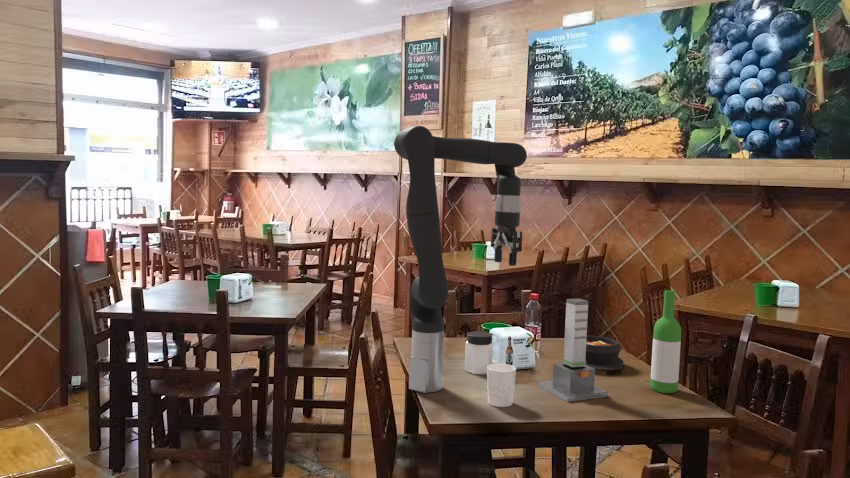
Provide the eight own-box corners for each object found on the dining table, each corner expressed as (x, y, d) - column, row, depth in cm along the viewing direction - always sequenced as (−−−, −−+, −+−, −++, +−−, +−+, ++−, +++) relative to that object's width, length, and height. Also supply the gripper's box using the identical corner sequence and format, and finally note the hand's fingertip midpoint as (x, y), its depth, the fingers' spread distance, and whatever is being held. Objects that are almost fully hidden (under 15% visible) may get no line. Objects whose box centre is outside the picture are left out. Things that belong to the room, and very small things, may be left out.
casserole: (635, 376, 203) (636, 350, 202) (578, 375, 202) (579, 349, 201) (608, 355, 228) (610, 332, 227) (557, 354, 227) (558, 331, 226)
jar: (486, 376, 198) (487, 338, 197) (461, 372, 201) (462, 335, 200) (494, 369, 206) (496, 332, 205) (470, 365, 209) (472, 329, 208)
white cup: (495, 396, 179) (497, 361, 178) (520, 403, 174) (521, 367, 173) (480, 403, 173) (481, 367, 172) (504, 410, 168) (506, 373, 167)
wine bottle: (679, 389, 190) (685, 290, 188) (675, 396, 184) (681, 293, 181) (652, 384, 194) (658, 287, 192) (647, 391, 188) (653, 290, 185)
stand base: (607, 396, 181) (609, 371, 181) (567, 401, 176) (568, 375, 175) (578, 382, 194) (579, 358, 194) (539, 386, 189) (540, 362, 188)
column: (586, 366, 183) (589, 301, 181) (572, 367, 181) (575, 302, 180) (576, 361, 188) (579, 298, 186) (562, 363, 186) (565, 299, 184)
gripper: (485, 209, 196) (482, 261, 197) (509, 211, 183) (506, 267, 184) (506, 209, 199) (503, 261, 200) (531, 211, 186) (528, 266, 187)
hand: (504, 263), depth 192 cm, fingers open, 8 cm apart
